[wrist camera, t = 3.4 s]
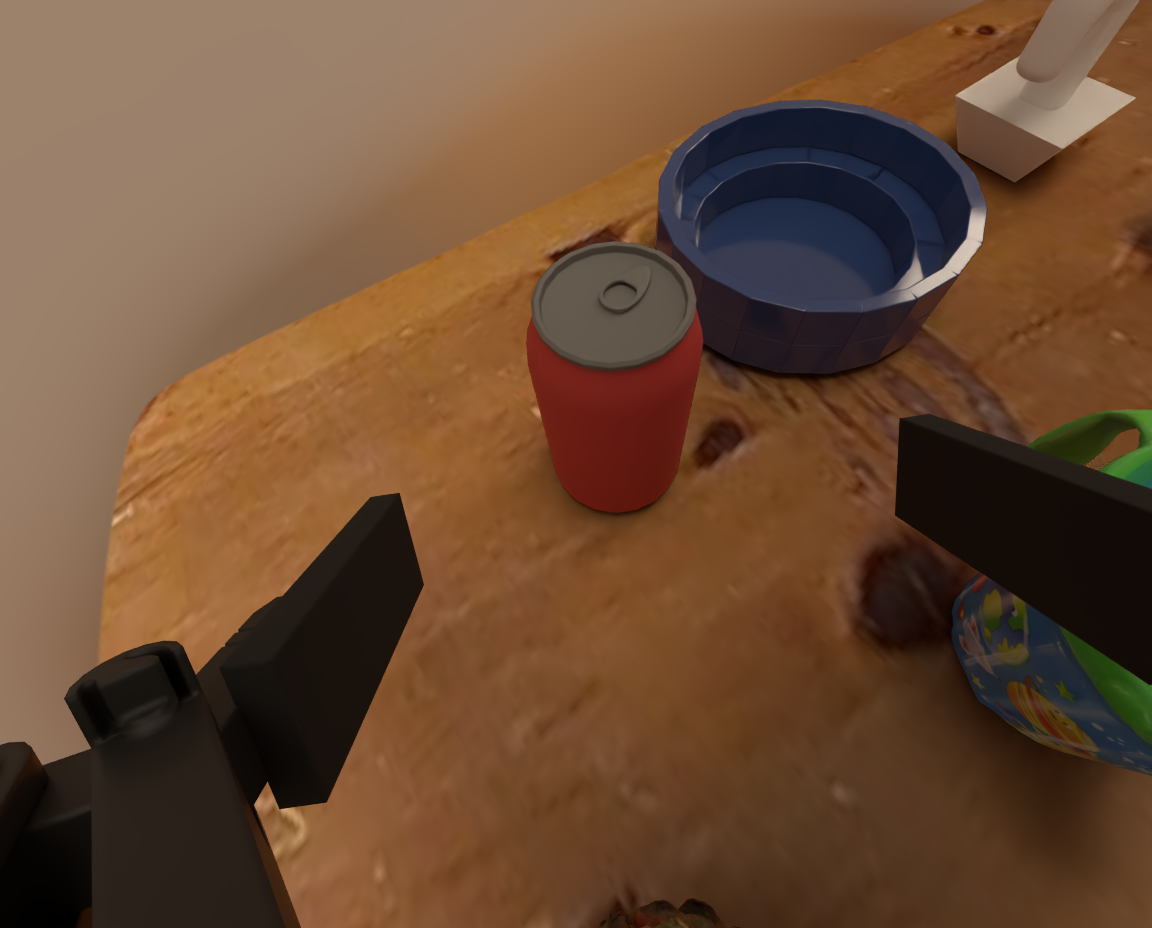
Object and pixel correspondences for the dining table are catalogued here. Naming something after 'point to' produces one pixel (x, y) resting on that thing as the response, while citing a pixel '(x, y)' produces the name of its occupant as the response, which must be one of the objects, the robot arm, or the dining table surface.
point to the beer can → (615, 370)
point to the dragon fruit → (668, 916)
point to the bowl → (816, 231)
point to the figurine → (1043, 91)
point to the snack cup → (1060, 637)
